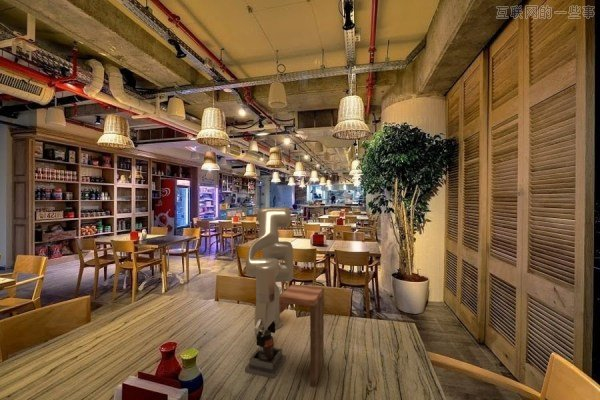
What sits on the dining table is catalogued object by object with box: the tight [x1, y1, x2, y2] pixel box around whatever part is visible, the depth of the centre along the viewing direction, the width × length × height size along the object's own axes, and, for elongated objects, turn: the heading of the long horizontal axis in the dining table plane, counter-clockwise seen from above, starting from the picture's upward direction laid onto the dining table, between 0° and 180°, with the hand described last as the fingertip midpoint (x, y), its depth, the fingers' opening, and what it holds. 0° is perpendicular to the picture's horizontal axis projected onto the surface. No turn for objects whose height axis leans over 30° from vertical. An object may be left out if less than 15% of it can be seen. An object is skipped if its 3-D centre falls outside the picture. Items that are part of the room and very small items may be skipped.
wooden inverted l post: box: [279, 283, 325, 388], centre depth 102 cm, size 14×13×30 cm
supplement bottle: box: [258, 330, 275, 361], centre depth 105 cm, size 6×6×11 cm
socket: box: [244, 347, 287, 379], centre depth 105 cm, size 12×12×4 cm
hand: (266, 338), depth 106 cm, fingers open, 9 cm apart
